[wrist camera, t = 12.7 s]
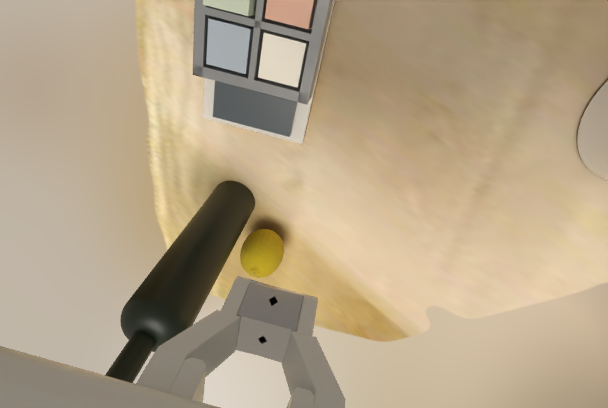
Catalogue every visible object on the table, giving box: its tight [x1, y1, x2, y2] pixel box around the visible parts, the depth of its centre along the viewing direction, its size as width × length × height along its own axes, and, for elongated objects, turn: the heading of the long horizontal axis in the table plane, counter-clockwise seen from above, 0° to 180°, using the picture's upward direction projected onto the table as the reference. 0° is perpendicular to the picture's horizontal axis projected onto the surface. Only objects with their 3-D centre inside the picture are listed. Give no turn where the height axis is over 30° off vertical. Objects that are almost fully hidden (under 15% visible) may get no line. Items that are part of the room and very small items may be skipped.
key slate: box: [206, 17, 254, 74], centre depth 33 cm, size 4×4×2 cm
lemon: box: [240, 229, 284, 277], centre depth 45 cm, size 6×6×8 cm
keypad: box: [193, 0, 335, 144], centre depth 34 cm, size 18×12×4 cm, turn 168°
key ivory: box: [258, 31, 310, 88], centre depth 33 cm, size 4×4×2 cm
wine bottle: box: [105, 181, 255, 383], centre depth 34 cm, size 6×6×30 cm
